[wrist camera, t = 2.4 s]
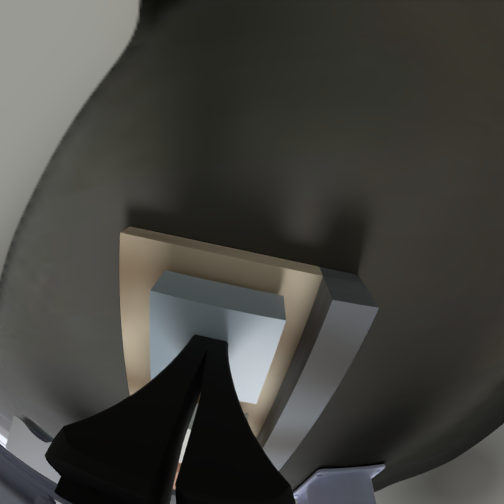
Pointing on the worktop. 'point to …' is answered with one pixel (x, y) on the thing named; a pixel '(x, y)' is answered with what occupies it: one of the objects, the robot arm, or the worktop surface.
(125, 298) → the keypad base
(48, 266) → the worktop surface
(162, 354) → the key slate
